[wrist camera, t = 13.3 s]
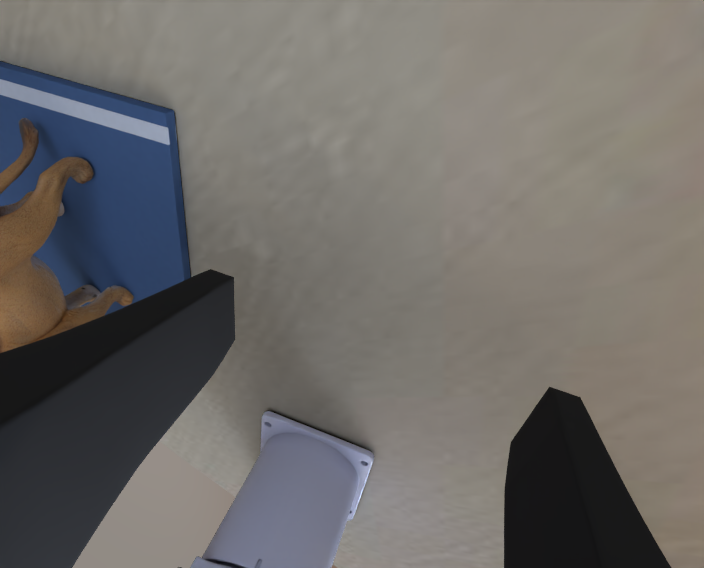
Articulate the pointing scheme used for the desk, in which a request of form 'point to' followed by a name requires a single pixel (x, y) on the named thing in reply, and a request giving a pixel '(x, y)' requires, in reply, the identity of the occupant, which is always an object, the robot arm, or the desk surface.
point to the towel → (100, 183)
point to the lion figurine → (29, 271)
